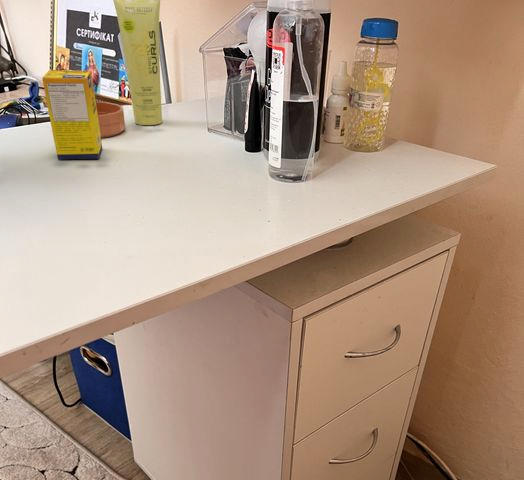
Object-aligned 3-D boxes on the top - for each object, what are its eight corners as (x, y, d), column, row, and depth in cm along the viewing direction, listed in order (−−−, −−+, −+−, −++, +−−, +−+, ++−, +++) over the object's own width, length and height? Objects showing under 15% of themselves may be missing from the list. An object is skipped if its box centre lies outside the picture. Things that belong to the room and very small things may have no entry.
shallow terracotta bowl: (46, 136, 87) (41, 113, 85) (75, 120, 95) (72, 99, 93) (110, 141, 86) (107, 118, 83) (134, 125, 94) (132, 104, 92)
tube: (147, 128, 93) (136, -6, 82) (125, 123, 95) (111, -8, 84) (168, 122, 97) (160, -7, 85) (147, 117, 99) (136, -9, 88)
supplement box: (102, 148, 82) (91, 69, 76) (99, 159, 78) (88, 77, 71) (62, 148, 82) (48, 68, 75) (57, 160, 77) (41, 76, 70)
